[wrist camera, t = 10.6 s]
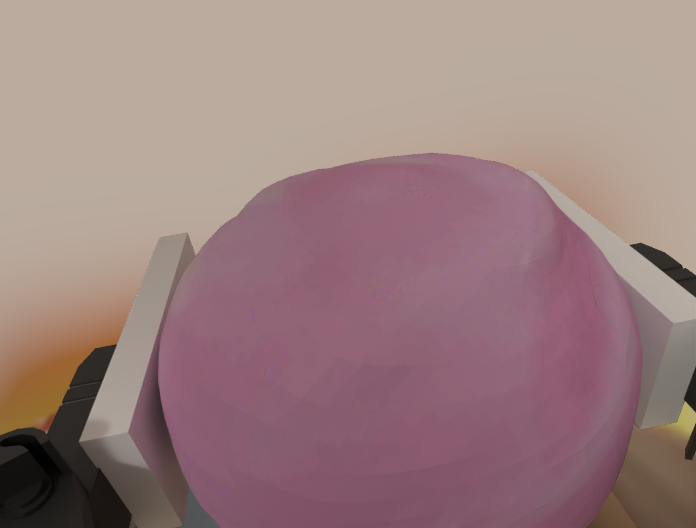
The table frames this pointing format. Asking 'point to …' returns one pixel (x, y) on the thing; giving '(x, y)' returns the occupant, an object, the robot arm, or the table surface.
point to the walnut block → (612, 515)
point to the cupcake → (401, 354)
